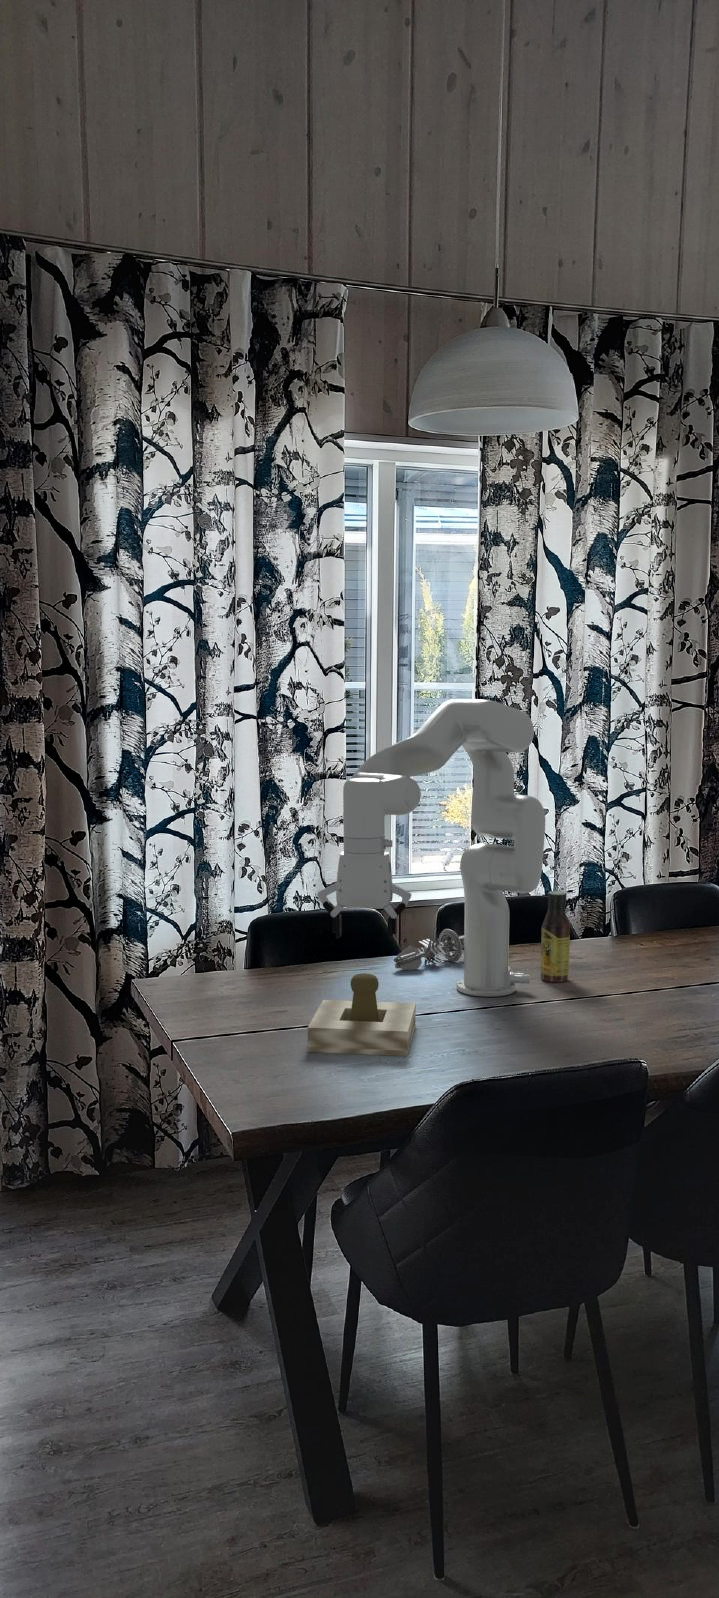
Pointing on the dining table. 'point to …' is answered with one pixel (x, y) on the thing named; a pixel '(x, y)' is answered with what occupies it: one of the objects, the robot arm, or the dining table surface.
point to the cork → (364, 998)
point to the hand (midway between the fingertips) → (364, 937)
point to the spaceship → (431, 951)
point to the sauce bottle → (555, 940)
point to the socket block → (362, 1029)
